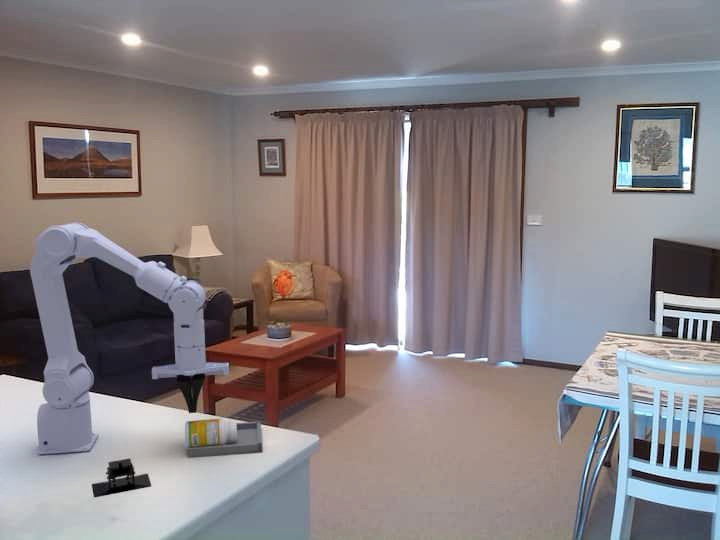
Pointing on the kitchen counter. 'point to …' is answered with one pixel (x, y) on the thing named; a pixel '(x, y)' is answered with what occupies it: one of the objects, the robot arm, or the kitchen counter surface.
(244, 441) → the gray tray
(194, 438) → the supplement bottle
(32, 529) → the kitchen counter surface
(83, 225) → the robot arm
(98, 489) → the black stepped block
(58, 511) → the kitchen counter surface
